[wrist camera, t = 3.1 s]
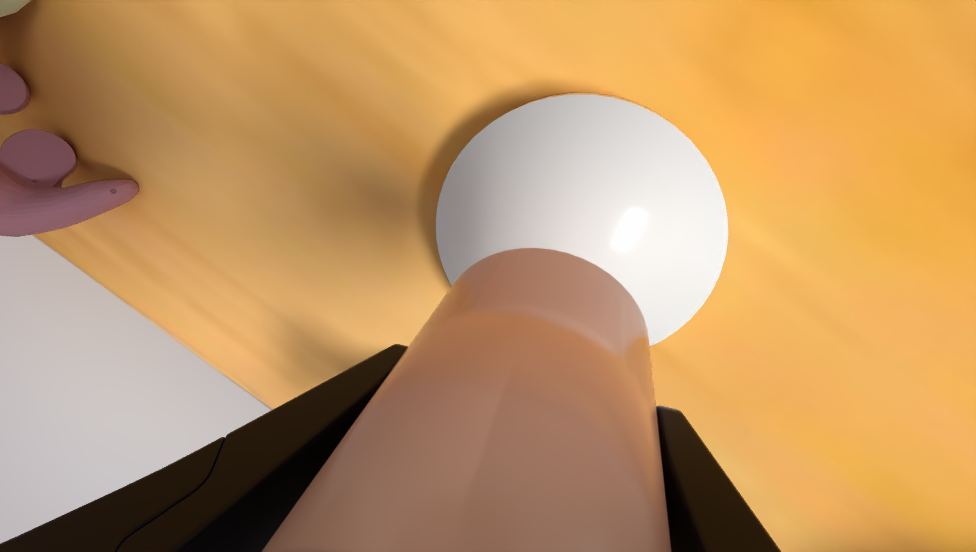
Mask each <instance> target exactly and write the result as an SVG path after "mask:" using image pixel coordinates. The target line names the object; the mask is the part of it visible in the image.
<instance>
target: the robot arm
mask: <svg viewBox="0 0 976 552" xmlns="http://www.w3.org/2000/svg"><path fill="white" fill-rule="evenodd" d="M407 348H408V346H404V345H400V344H395V345H392V346H390V347H388V348H387V349H385V350H383V351H381V352H379V353H377V354H375V355H374V356H372V357H370V358H368V359H366V360H364V361H362V362H361V363H359V364H357V365H355V366H353V367H351V368H349V369H348V370H346V371H344V372H342V373H340V374H338V375H337V376H335V377H333V378H331V379H329V380H327V381H325V382H324V383H322V384H320V385H318V386H316V387H314V388H312V389H311V390H309V391H307V392H305V393H303V394H301V395H299V396H298V397H296V398H294V399H292V400H290V401H288V402H286V403H285V404H283V405H281V406H279V407H277V408H275V409H273V410H272V411H270V412H268V413H266V414H264V415H263V416H260V417H259V418H257V419H255V420H253V421H251V422H249V423H247V424H246V425H244V426H242V427H240V428H238V429H236V430H234V431H233V432H231V433H229V434H228V435H227V436H226V438H225V437H221V438H219V439H218V440H216V441H214V442H212V443H210V444H208V445H207V446H205V447H203V448H201V449H199V450H197V451H195V452H193V453H191V454H189V455H187V456H186V457H183V458H182V459H180V460H178V461H176V462H174V463H172V464H170V465H168V466H166V467H164V468H162V469H160V470H158V471H156V472H154V473H152V474H150V475H148V476H146V477H143V478H141V479H139V480H137V481H135V482H133V483H131V484H129V485H127V486H125V487H123V488H121V489H118V490H116V491H114V492H112V493H110V494H108V495H105V496H103V497H101V498H99V499H97V500H95V501H93V502H91V503H88V504H86V505H84V506H82V507H79V508H77V509H75V510H73V511H71V512H69V513H67V514H65V515H62V516H60V517H58V518H56V519H54V520H52V521H49V522H47V523H45V524H43V525H41V526H38V527H36V528H34V529H32V530H30V531H28V532H25V533H24V534H21V535H19V536H17V537H15V538H12V539H10V540H8V541H6V542H3V543H1V544H0V552H262V550H263V549H264V548H265V546H266V545H267V543H268V542H269V541H270V539H271V538H272V536H273V535H274V534H275V532H276V531H277V529H278V528H279V527H280V525H281V524H282V523H283V521H284V520H285V518H286V517H287V516H288V514H289V513H290V511H291V510H292V509H293V507H294V506H295V504H296V503H297V502H298V500H299V499H300V497H301V496H302V495H303V493H304V492H305V490H306V489H307V488H308V486H309V485H310V483H311V482H312V481H313V479H314V478H315V476H316V475H317V474H318V472H319V471H320V470H321V468H322V467H323V465H324V464H325V463H326V461H327V460H328V458H329V457H330V456H331V454H332V453H333V451H334V450H335V449H336V447H337V446H338V444H339V443H340V442H341V440H342V439H343V437H344V436H345V435H346V433H347V432H348V430H349V429H350V428H351V426H352V425H353V423H354V422H355V421H356V419H357V418H358V417H359V415H360V414H361V412H362V411H363V410H364V408H365V407H366V405H367V404H368V403H369V401H370V400H371V398H372V397H373V396H374V394H375V393H376V391H377V390H378V389H379V387H380V386H381V384H382V383H383V382H384V380H385V379H386V377H387V376H388V375H389V373H390V372H391V370H392V369H393V368H394V366H395V365H396V364H397V362H398V361H399V359H400V358H401V357H402V355H403V354H404V352H405V351H406V350H407ZM656 411H657V420H658V430H659V439H660V449H661V458H662V468H663V477H664V486H665V496H666V505H667V515H668V524H669V534H670V543H671V552H781V551H780V549H779V548H778V546H777V545H776V544H775V542H774V541H773V539H772V538H771V537H770V535H769V534H768V532H767V531H766V530H765V528H764V527H763V525H762V524H761V523H760V521H759V520H758V518H757V517H756V516H755V514H754V513H753V511H752V510H751V509H750V507H749V506H748V504H747V503H746V502H745V500H744V499H743V497H742V496H741V495H740V493H739V492H738V490H737V489H736V488H735V486H734V485H733V483H732V482H731V481H730V479H729V478H728V476H727V475H726V474H725V472H724V471H723V469H722V468H721V466H720V465H719V464H718V462H717V461H716V459H715V458H714V457H713V455H712V454H711V452H710V451H709V450H708V448H707V447H706V445H705V444H704V443H703V441H702V440H701V438H700V437H699V436H698V434H697V433H696V431H695V430H694V429H693V427H692V426H691V424H690V423H689V422H688V420H687V419H686V417H685V416H684V415H683V413H682V412H680V411H679V410H677V409H672V408H668V407H664V406H657V407H656Z"/></svg>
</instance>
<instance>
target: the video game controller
mask: <svg viewBox="0 0 976 552" xmlns="http://www.w3.org/2000/svg"><path fill="white" fill-rule="evenodd" d="M29 101H30V92H29V89H28V86H27V85H26V83H25V82H24V80H23V78H21V77H20V76H19V75H18V74H17V73H16V72H15V71H14V70H12V69H11V68H9V67H8V66H6V65H4V64H2V63H0V115H7V114H13V113H16V112H19V111H21V110H22V109H24V108H25V107H26V106H27V105H28V104H29ZM76 165H77V160H76V156H75V153H74V151H73V150H72V148H71V147H70V146H69V145H68V144H67V143H66V142H65V141H64V140H63V139H61V138H60V137H58V136H56V135H55V134H52V133H50V132H47V131H43V130H33V129H31V130H24V131H20V132H18V133H15V134H13V135H12V136H10V137H9V138H8V139H6V140H5V142H4V143H3V145H2V146H1V149H0V235H1V236H14V237H19V236H25V235H31V234H37V233H44V232H48V231H52V230H57V229H61V228H64V227H68V226H71V225H74V224H78V223H80V222H83V221H85V220H88V219H90V218H92V217H95V216H97V215H99V214H102V213H104V212H106V211H108V210H111V209H113V208H115V207H117V206H120V205H122V204H124V203H126V202H127V201H129V200H130V199H132V198H133V197H134V196H135V195H136V194H137V193H138V191H139V187H138V185H137V183H136V182H134V181H133V180H124V179H112V180H101V181H94V182H89V183H84V184H80V185H75V186H70V187H65V188H61V185H62V182H63V180H64V179H65V178H66V177H68V176H69V175H70V174H71V173H72V172H73V171H74V169H75V168H76Z"/></svg>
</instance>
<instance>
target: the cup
mask: <svg viewBox="0 0 976 552" xmlns="http://www.w3.org/2000/svg"><path fill="white" fill-rule="evenodd" d="M262 552H671V543H670V534H669V524H668V515H667V505H666V496H665V486H664V477H663V468H662V458H661V449H660V439H659V430H658V420H657V411H656V401H655V392H654V382H653V373H652V364H651V354H650V345H649V336H648V329H647V326H646V323H645V319H644V317H643V314H642V312H641V310H640V308H639V306H638V305H637V303H636V302H635V300H634V299H633V297H632V296H631V294H630V293H629V292H628V291H627V290H626V289H625V288H624V287H623V285H622V284H621V283H620V282H618V281H617V280H616V279H615V278H614V277H613V276H611V275H610V274H609V273H607V272H606V271H604V270H603V269H601V268H600V267H598V266H597V265H595V264H593V263H591V262H589V261H587V260H585V259H583V258H580V257H577V256H574V255H571V254H569V253H565V252H561V251H556V250H552V249H542V248H519V249H512V250H506V251H502V252H499V253H495V254H493V255H490V256H488V257H486V258H483V259H481V260H480V261H478V262H476V263H475V264H473V265H472V266H470V267H469V268H468V269H467V270H466V271H464V272H463V273H462V274H461V275H460V277H459V278H458V279H457V280H456V281H455V283H454V284H453V285H452V287H451V288H450V290H449V291H448V292H447V294H446V295H445V297H444V298H443V299H442V301H441V302H440V304H439V305H438V306H437V308H436V309H435V311H434V312H433V313H432V315H431V316H430V317H429V319H428V320H427V322H426V323H425V324H424V326H423V327H422V329H421V330H420V331H419V333H418V334H417V336H416V337H415V338H414V340H413V341H412V343H411V344H410V345H409V347H408V348H407V350H406V351H405V352H404V354H403V355H402V357H401V358H400V359H399V361H398V362H397V364H396V365H395V366H394V368H393V369H392V370H391V372H390V373H389V375H388V376H387V377H386V379H385V380H384V382H383V383H382V384H381V386H380V387H379V389H378V390H377V391H376V393H375V394H374V396H373V397H372V398H371V400H370V401H369V403H368V404H367V405H366V407H365V408H364V410H363V411H362V412H361V414H360V415H359V417H358V418H357V419H356V421H355V422H354V423H353V425H352V426H351V428H350V429H349V430H348V432H347V433H346V435H345V436H344V437H343V439H342V440H341V442H340V443H339V444H338V446H337V447H336V449H335V450H334V451H333V453H332V454H331V456H330V457H329V458H328V460H327V461H326V463H325V464H324V465H323V467H322V468H321V470H320V471H319V472H318V474H317V475H316V476H315V478H314V479H313V481H312V482H311V483H310V485H309V486H308V488H307V489H306V490H305V492H304V493H303V495H302V496H301V497H300V499H299V500H298V502H297V503H296V504H295V506H294V507H293V509H292V510H291V511H290V513H289V514H288V516H287V517H286V518H285V520H284V521H283V523H282V524H281V525H280V527H279V528H278V529H277V531H276V532H275V534H274V535H273V536H272V538H271V539H270V541H269V542H268V543H267V545H266V546H265V548H264V549H263V550H262Z"/></svg>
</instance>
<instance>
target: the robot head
mask: <svg viewBox="0 0 976 552" xmlns="http://www.w3.org/2000/svg"><path fill="white" fill-rule="evenodd" d="M30 1H31V0H0V17H2V16H6V15H9V14H13V13H16V12H18V11H19V10H20V9H21V8H22V7H24V6H25V5H26V4H27V3H29V2H30Z"/></svg>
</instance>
